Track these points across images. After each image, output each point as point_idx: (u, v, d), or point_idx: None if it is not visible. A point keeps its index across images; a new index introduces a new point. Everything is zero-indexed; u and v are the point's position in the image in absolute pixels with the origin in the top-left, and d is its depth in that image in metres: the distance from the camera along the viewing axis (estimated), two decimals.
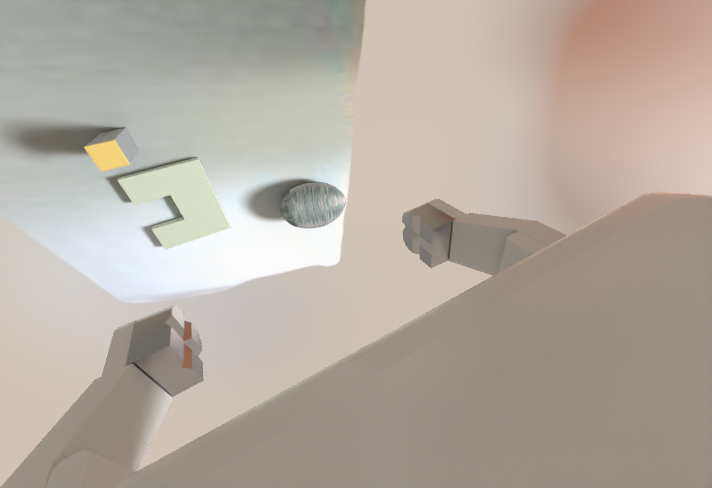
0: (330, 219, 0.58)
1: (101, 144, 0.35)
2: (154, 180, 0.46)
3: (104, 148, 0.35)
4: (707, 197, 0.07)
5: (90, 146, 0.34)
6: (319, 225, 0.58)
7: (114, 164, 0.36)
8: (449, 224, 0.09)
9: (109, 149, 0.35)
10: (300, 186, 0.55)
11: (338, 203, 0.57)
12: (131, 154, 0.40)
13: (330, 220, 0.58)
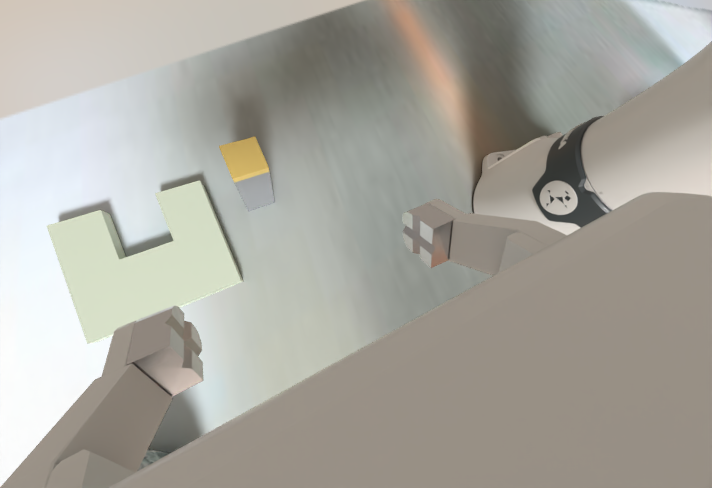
0: None
1: (261, 154, 0.25)
2: (201, 222, 0.29)
3: (255, 156, 0.25)
4: (707, 197, 0.07)
5: (256, 143, 0.25)
6: None
7: (232, 162, 0.24)
8: (449, 224, 0.09)
9: (254, 161, 0.24)
10: None
11: None
12: (244, 193, 0.27)
13: None
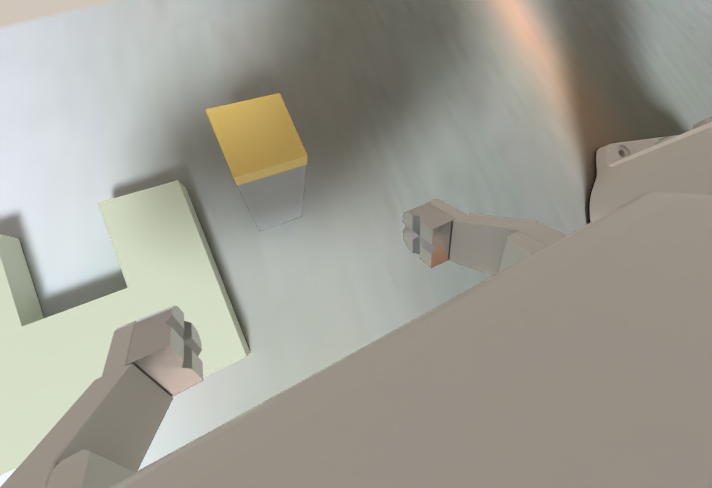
0: None
1: (292, 128, 0.12)
2: (178, 254, 0.17)
3: (281, 132, 0.12)
4: (707, 197, 0.07)
5: (283, 106, 0.12)
6: None
7: (232, 143, 0.11)
8: (449, 224, 0.09)
9: (279, 142, 0.12)
10: None
11: None
12: (255, 205, 0.15)
13: None
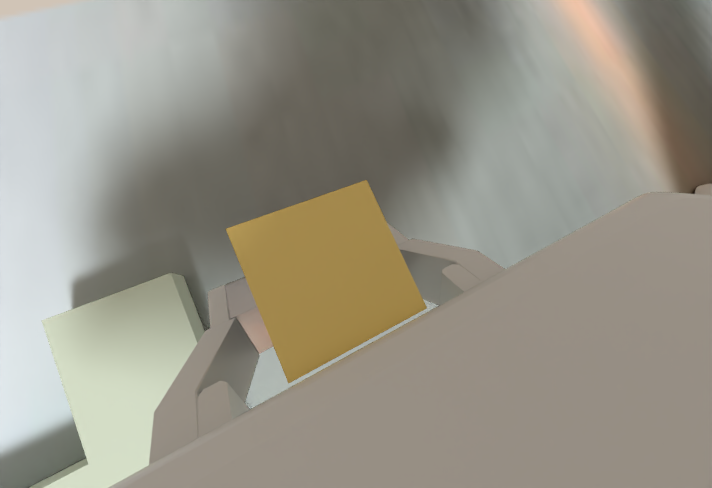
0: None
1: (394, 253, 0.06)
2: None
3: (375, 263, 0.06)
4: (707, 197, 0.07)
5: (374, 206, 0.06)
6: None
7: (284, 301, 0.05)
8: None
9: (374, 285, 0.06)
10: None
11: None
12: None
13: None
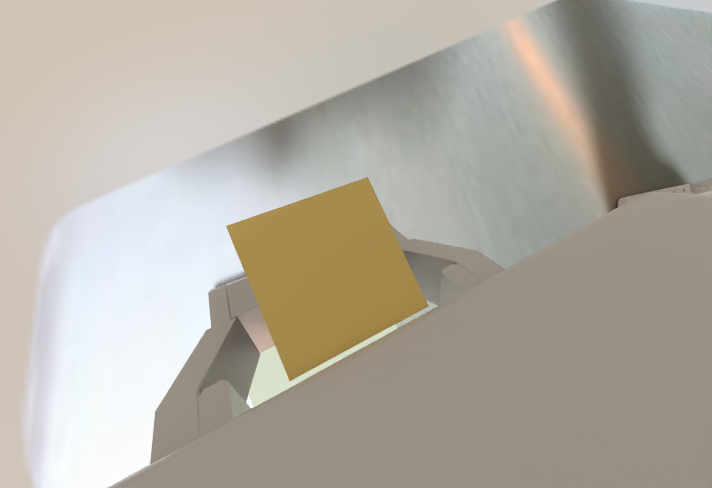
0: None
1: (396, 251, 0.06)
2: None
3: (376, 261, 0.06)
4: (707, 197, 0.07)
5: (375, 204, 0.06)
6: None
7: (284, 299, 0.05)
8: None
9: (375, 283, 0.06)
10: None
11: None
12: None
13: None
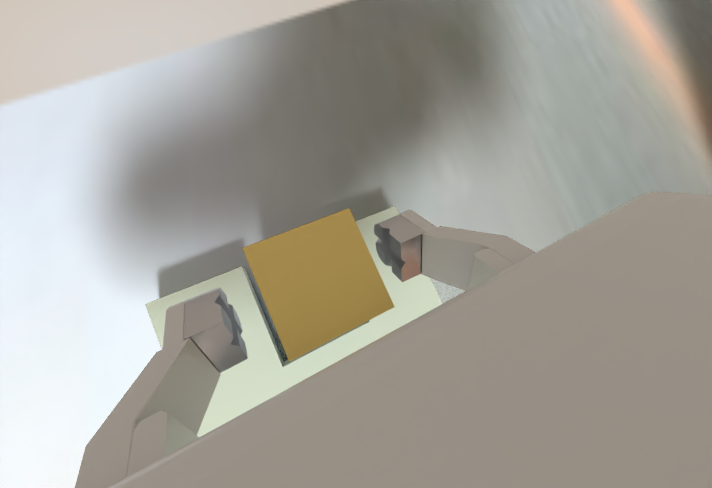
0: None
1: (370, 265, 0.08)
2: (408, 284, 0.16)
3: (355, 273, 0.08)
4: (707, 197, 0.07)
5: (355, 228, 0.08)
6: None
7: (286, 302, 0.07)
8: (419, 238, 0.09)
9: (354, 290, 0.08)
10: None
11: None
12: None
13: None
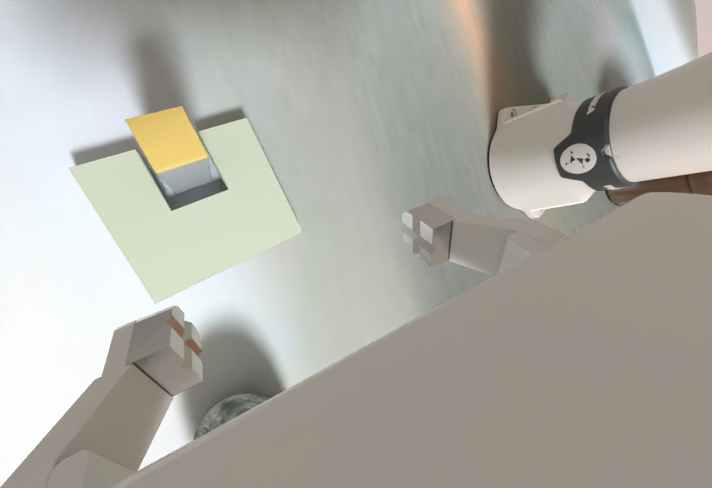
0: None
1: (194, 134, 0.18)
2: (255, 169, 0.27)
3: (186, 137, 0.18)
4: (707, 197, 0.07)
5: (185, 116, 0.18)
6: None
7: (150, 145, 0.17)
8: (449, 224, 0.09)
9: (185, 144, 0.18)
10: None
11: None
12: (171, 181, 0.21)
13: None
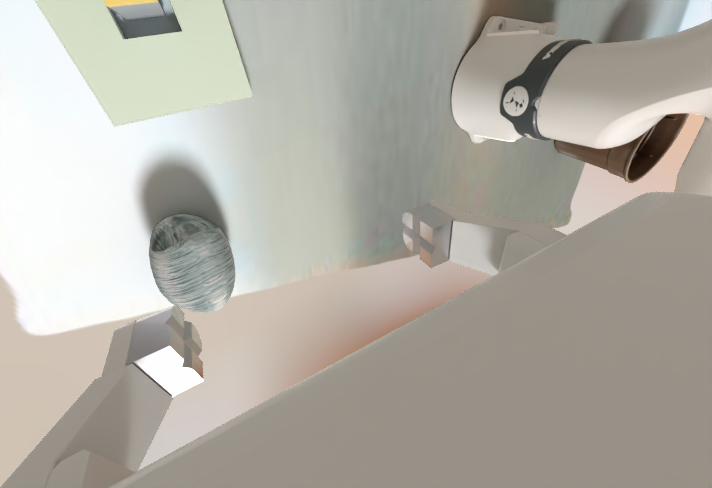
0: (183, 301, 0.34)
1: None
2: (211, 15, 0.27)
3: None
4: (707, 197, 0.07)
5: None
6: (165, 287, 0.32)
7: None
8: (449, 224, 0.09)
9: None
10: (227, 241, 0.37)
11: (215, 304, 0.36)
12: (122, 12, 0.22)
13: (180, 301, 0.34)
